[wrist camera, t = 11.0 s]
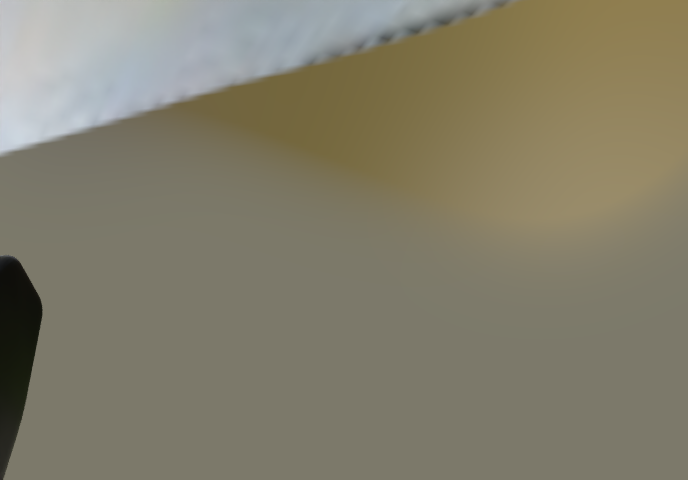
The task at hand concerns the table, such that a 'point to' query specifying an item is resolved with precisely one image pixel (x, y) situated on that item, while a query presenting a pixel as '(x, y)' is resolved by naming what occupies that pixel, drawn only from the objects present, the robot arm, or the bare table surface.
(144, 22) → the table surface
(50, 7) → the table surface
